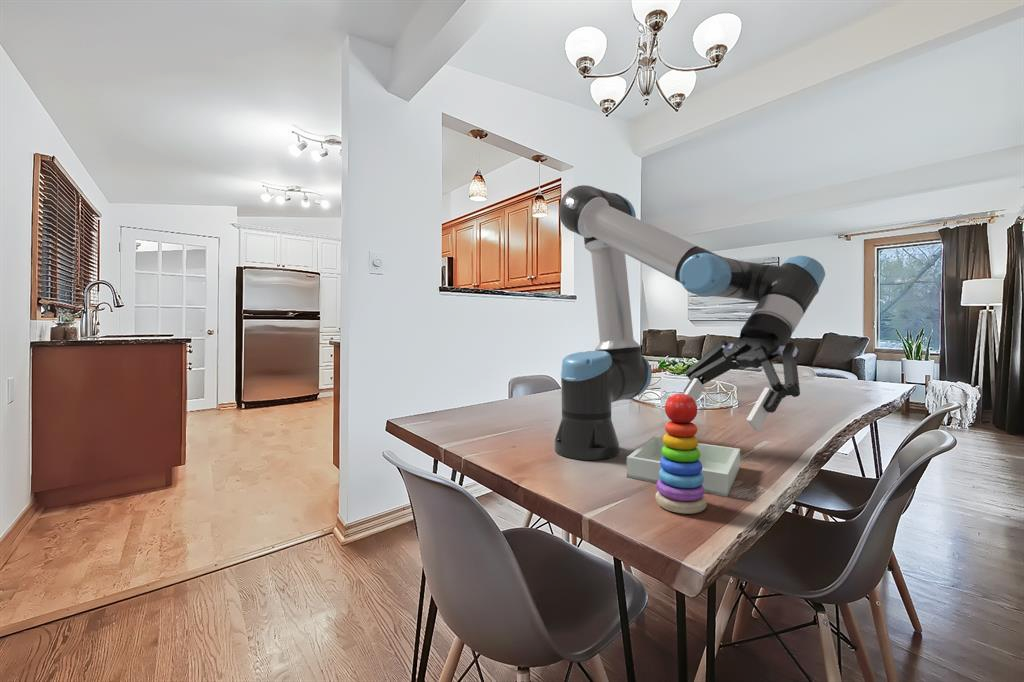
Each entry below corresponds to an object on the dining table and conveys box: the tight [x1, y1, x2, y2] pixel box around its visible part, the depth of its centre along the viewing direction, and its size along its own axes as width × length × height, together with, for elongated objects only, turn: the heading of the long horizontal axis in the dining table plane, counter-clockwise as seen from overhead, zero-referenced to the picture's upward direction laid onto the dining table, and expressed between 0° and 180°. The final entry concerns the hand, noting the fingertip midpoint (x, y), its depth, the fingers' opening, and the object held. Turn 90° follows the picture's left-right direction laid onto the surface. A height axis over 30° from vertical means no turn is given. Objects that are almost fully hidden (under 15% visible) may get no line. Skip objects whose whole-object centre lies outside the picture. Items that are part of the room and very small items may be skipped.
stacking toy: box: [655, 393, 708, 515], centre depth 72 cm, size 8×8×19 cm
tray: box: [626, 436, 741, 498], centre depth 88 cm, size 18×18×4 cm
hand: (714, 417), depth 73 cm, fingers open, 13 cm apart
